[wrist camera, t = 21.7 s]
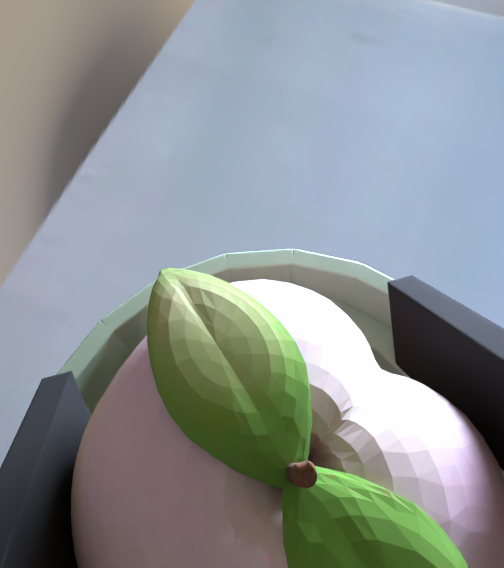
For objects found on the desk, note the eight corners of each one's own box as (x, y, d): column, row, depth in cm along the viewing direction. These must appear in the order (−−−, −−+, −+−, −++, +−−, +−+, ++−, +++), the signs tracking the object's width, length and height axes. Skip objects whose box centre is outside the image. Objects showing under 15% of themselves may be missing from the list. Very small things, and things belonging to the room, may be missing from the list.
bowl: (7, 667, 14) (-112, 756, 9) (153, 275, 20) (122, 212, 15) (463, 818, 13) (582, 1009, 8) (479, 347, 18) (553, 301, 14)
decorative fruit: (84, 475, 15) (-195, 461, 6) (255, 312, 17) (252, 116, 8) (290, 740, 12) (391, 1548, 3) (461, 501, 14) (816, 531, 5)
